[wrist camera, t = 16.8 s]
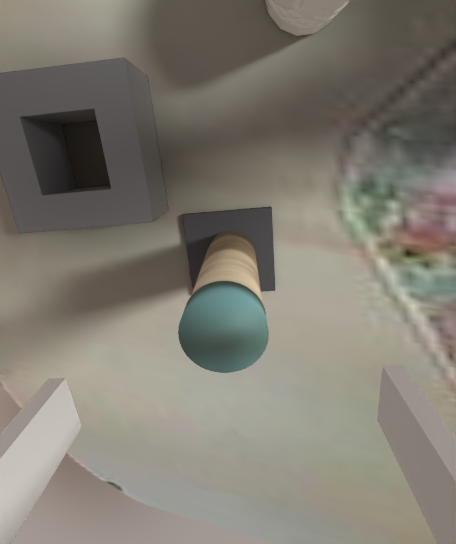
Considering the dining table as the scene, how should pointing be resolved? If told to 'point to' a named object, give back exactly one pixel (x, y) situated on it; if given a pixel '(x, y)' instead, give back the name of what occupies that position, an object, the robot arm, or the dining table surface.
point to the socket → (54, 154)
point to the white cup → (304, 14)
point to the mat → (244, 221)
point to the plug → (225, 308)
